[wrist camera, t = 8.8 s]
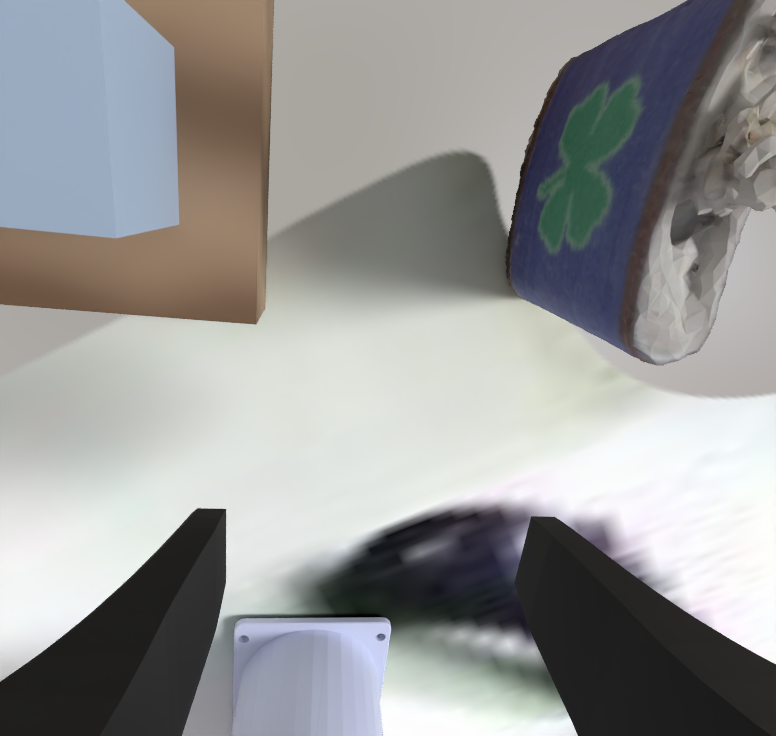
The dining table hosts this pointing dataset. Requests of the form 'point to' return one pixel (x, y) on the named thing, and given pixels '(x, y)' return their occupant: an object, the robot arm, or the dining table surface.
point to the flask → (649, 176)
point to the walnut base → (180, 188)
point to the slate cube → (86, 119)
